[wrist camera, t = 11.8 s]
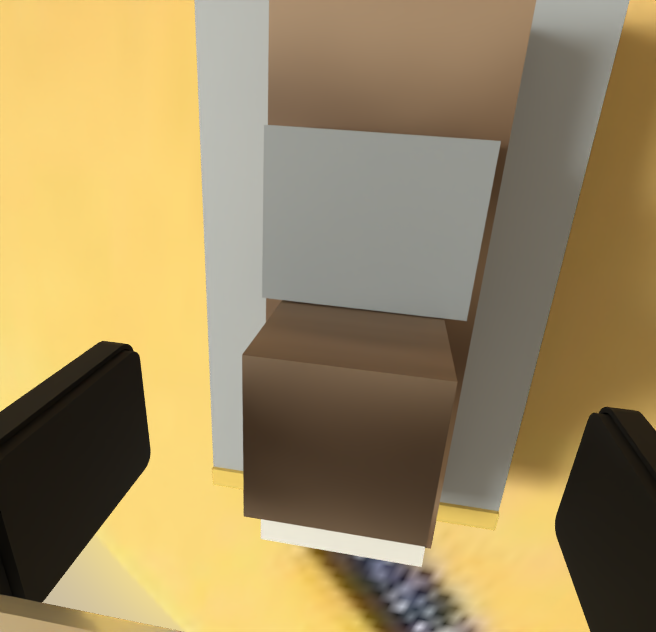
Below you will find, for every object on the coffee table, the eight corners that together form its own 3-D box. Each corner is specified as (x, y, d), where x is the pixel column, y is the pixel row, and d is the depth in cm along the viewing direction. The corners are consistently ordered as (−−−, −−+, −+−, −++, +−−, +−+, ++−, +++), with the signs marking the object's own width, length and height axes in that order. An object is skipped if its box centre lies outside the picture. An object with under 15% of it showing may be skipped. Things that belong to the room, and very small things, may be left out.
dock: (241, 6, 20) (190, -33, 15) (578, 17, 19) (637, -23, 14) (245, 427, 28) (212, 486, 24) (478, 461, 27) (494, 532, 22)
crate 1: (301, 126, 14) (264, 124, 10) (474, 138, 13) (500, 141, 9) (296, 257, 15) (262, 297, 12) (450, 273, 15) (466, 321, 11)
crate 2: (293, 367, 17) (261, 433, 13) (433, 385, 16) (441, 459, 12) (289, 457, 18) (260, 538, 15) (418, 476, 18) (421, 567, 14)
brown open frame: (296, 16, 16) (126, -166, 6) (509, 24, 15) (697, -173, 5) (283, 467, 23) (195, 707, 13) (427, 489, 22) (444, 763, 12)
